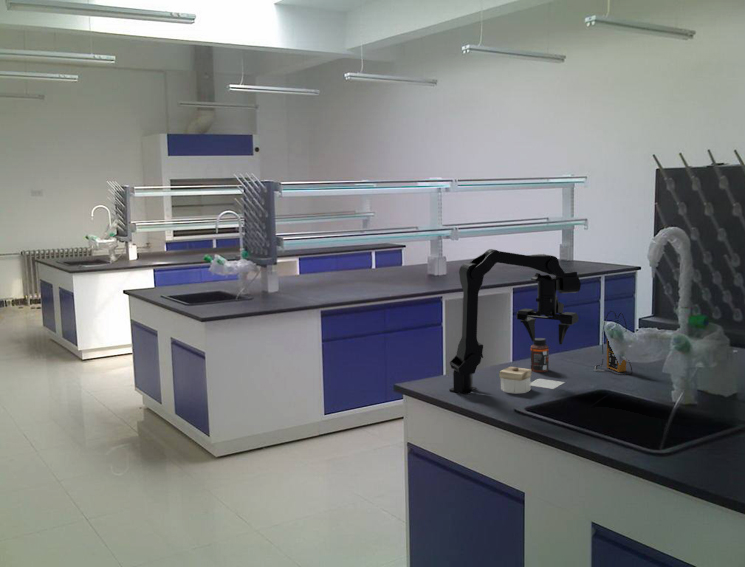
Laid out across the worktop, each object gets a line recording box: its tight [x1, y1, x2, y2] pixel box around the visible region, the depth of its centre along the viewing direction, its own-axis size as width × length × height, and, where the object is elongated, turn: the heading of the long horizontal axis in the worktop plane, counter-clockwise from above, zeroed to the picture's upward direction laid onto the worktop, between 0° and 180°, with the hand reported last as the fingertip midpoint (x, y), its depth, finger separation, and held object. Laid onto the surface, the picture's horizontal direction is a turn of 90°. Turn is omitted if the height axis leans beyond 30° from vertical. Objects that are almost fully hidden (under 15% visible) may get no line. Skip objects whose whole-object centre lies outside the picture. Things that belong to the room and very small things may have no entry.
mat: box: [530, 378, 566, 390], centre depth 230 cm, size 9×9×1 cm
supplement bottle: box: [530, 337, 550, 373], centre depth 247 cm, size 6×6×11 cm
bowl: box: [500, 376, 531, 394], centre depth 225 cm, size 8×8×4 cm
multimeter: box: [594, 310, 633, 376], centre depth 244 cm, size 15×10×20 cm
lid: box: [498, 366, 532, 381], centre depth 224 cm, size 7×7×3 cm
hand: (546, 342), depth 232 cm, fingers open, 9 cm apart
